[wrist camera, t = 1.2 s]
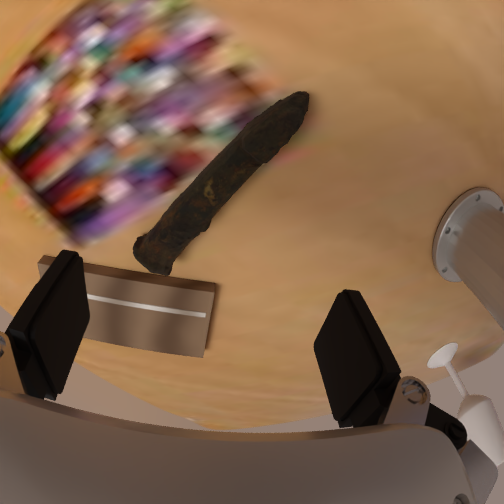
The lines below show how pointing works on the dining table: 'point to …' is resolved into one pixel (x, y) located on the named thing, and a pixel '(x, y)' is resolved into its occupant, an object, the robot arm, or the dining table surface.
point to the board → (146, 309)
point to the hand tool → (220, 183)
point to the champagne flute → (474, 410)
